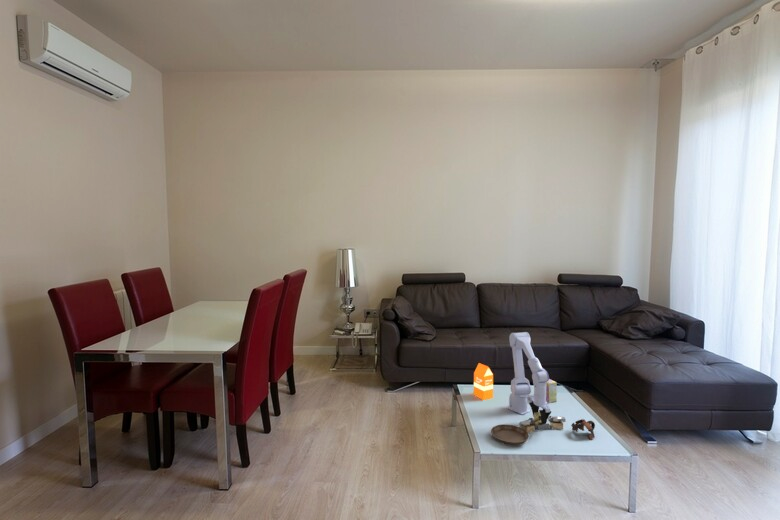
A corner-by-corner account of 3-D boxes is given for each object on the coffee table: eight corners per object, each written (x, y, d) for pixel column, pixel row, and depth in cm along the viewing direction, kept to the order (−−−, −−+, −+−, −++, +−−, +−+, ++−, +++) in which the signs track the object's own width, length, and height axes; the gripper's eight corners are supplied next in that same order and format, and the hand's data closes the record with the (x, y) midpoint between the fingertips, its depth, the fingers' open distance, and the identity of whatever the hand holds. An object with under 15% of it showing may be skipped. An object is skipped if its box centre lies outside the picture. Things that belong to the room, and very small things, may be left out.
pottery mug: (588, 443, 182) (579, 426, 184) (574, 443, 190) (565, 426, 192) (604, 431, 187) (594, 414, 189) (589, 431, 195) (580, 415, 198)
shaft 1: (529, 426, 198) (529, 415, 197) (536, 430, 194) (536, 419, 193) (518, 430, 194) (518, 419, 194) (524, 433, 190) (524, 422, 190)
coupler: (536, 427, 195) (536, 416, 195) (532, 424, 199) (532, 412, 199) (546, 426, 196) (546, 415, 196) (542, 422, 200) (542, 411, 200)
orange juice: (483, 400, 229) (483, 368, 228) (473, 395, 237) (473, 363, 236) (493, 398, 233) (493, 365, 232) (483, 393, 241) (483, 361, 240)
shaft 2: (550, 428, 195) (550, 418, 195) (547, 424, 199) (547, 414, 199) (566, 429, 195) (566, 418, 194) (562, 425, 199) (563, 414, 199)
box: (536, 396, 235) (537, 377, 235) (544, 395, 237) (545, 376, 237) (548, 403, 226) (549, 383, 225) (556, 401, 227) (557, 382, 227)
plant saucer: (489, 428, 196) (489, 422, 196) (525, 431, 194) (525, 425, 193) (492, 446, 179) (492, 440, 179) (532, 450, 176) (532, 443, 176)
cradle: (537, 430, 194) (537, 425, 193) (530, 423, 201) (530, 418, 200) (549, 429, 195) (549, 424, 195) (541, 422, 202) (541, 417, 202)
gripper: (555, 399, 190) (555, 425, 191) (539, 388, 205) (538, 412, 205) (542, 400, 189) (542, 427, 190) (526, 389, 203) (526, 414, 204)
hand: (539, 420), depth 197 cm, fingers open, 7 cm apart
